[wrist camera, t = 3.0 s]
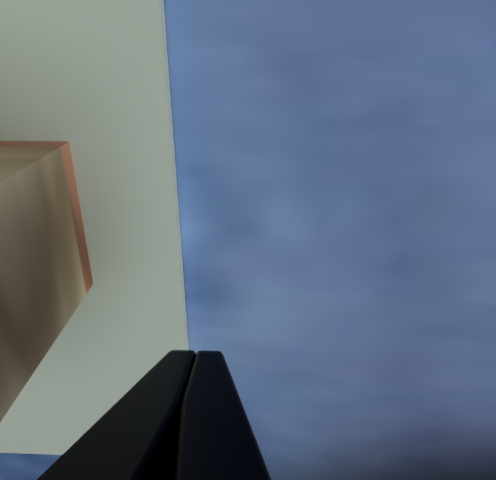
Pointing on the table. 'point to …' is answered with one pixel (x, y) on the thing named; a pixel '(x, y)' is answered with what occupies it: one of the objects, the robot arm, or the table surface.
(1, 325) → the maple block
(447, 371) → the table surface
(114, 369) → the sage mat
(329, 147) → the table surface
